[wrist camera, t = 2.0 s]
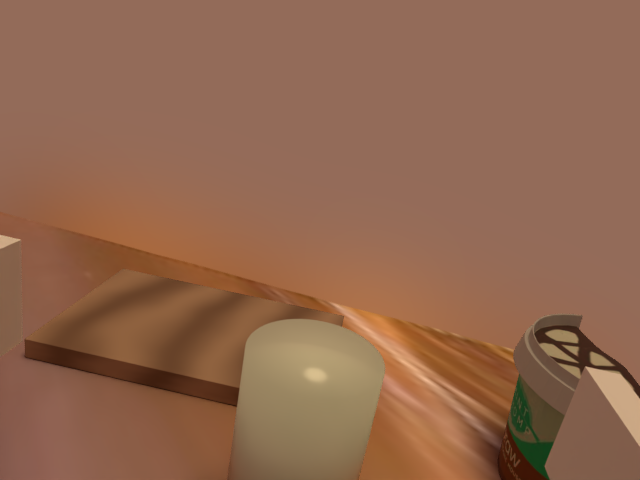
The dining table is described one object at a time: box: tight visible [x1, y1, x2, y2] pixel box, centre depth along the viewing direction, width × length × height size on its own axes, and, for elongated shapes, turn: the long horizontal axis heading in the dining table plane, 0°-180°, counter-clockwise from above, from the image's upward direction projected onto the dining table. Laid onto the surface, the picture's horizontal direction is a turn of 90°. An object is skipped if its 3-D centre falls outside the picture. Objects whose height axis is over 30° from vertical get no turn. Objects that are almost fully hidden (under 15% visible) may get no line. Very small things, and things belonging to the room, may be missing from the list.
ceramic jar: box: [227, 319, 385, 480], centre depth 25 cm, size 6×6×11 cm
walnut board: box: [25, 269, 344, 406], centre depth 42 cm, size 22×14×2 cm, turn 82°
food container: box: [498, 314, 640, 480], centre depth 31 cm, size 12×6×10 cm, turn 1°
